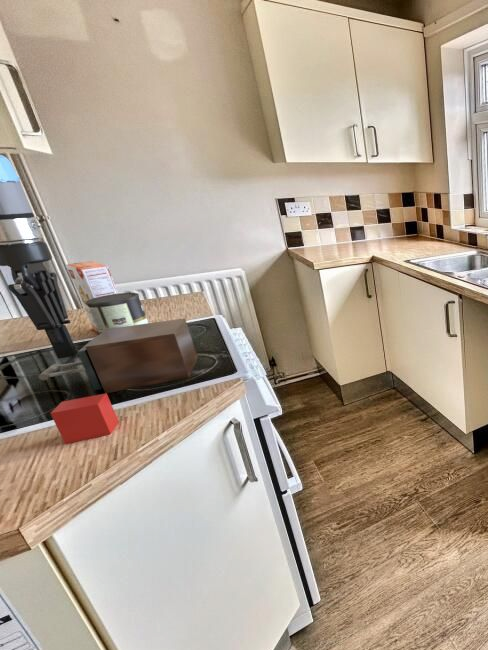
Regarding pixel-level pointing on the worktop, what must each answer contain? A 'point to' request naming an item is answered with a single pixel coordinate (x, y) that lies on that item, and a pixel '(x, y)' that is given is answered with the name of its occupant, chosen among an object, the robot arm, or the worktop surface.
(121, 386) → the cabinet
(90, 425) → the box
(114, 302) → the coffee can
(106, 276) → the cracker box
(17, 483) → the worktop surface
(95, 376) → the drawer
